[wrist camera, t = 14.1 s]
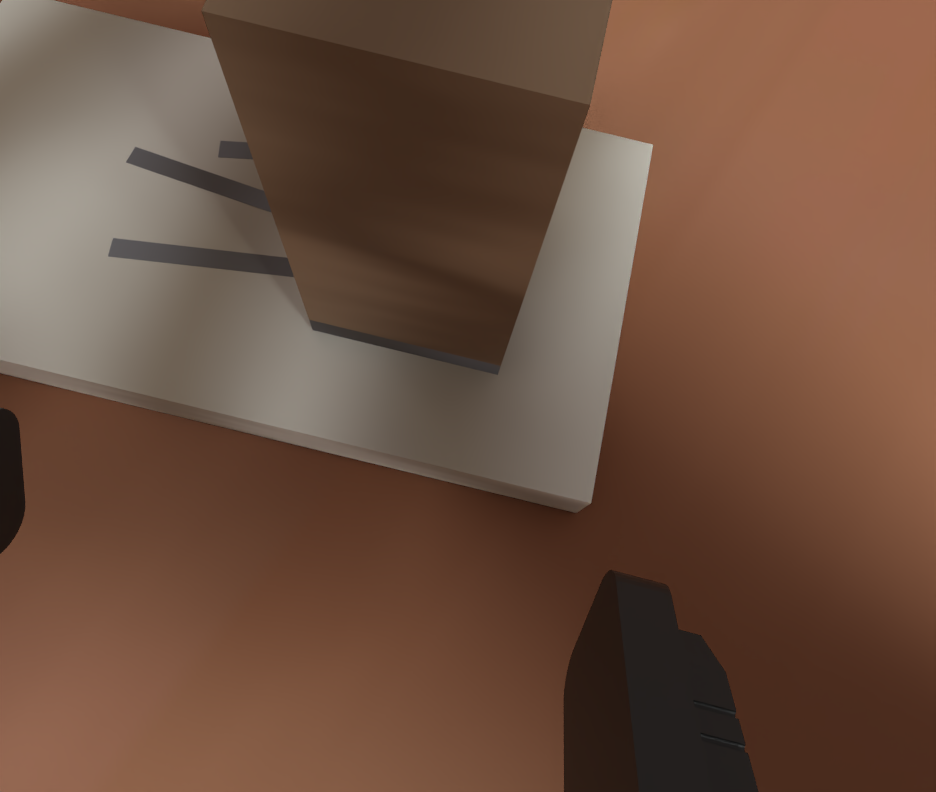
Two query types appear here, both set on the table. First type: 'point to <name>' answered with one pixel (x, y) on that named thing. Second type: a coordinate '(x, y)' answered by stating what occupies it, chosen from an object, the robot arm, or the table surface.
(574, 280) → the board
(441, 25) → the block
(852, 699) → the table surface
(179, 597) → the table surface
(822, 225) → the table surface
